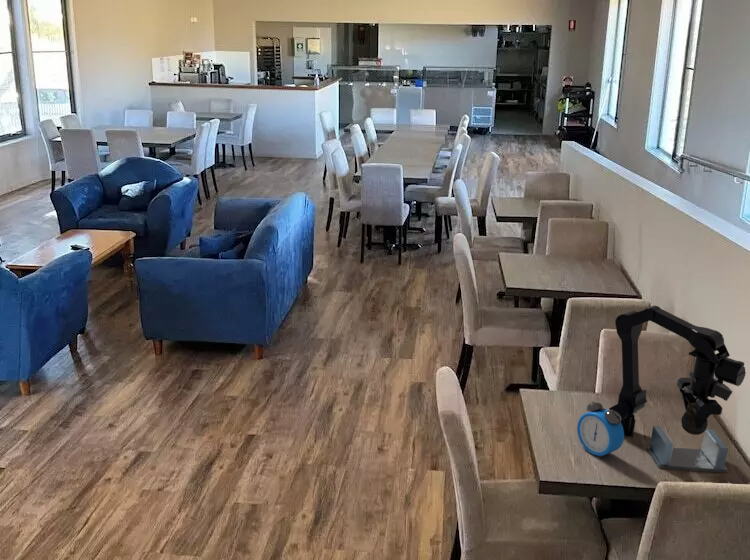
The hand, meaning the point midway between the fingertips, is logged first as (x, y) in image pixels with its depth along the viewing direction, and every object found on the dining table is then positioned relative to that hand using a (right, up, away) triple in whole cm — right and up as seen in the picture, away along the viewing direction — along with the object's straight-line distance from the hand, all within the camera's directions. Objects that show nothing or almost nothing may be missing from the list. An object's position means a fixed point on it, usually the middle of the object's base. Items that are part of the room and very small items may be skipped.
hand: (693, 421), depth 221 cm
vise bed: (-1, -12, +4) cm, 13 cm away
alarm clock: (-27, -10, +6) cm, 29 cm away
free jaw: (-9, -11, +3) cm, 14 cm away
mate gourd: (0, -3, +1) cm, 3 cm away
